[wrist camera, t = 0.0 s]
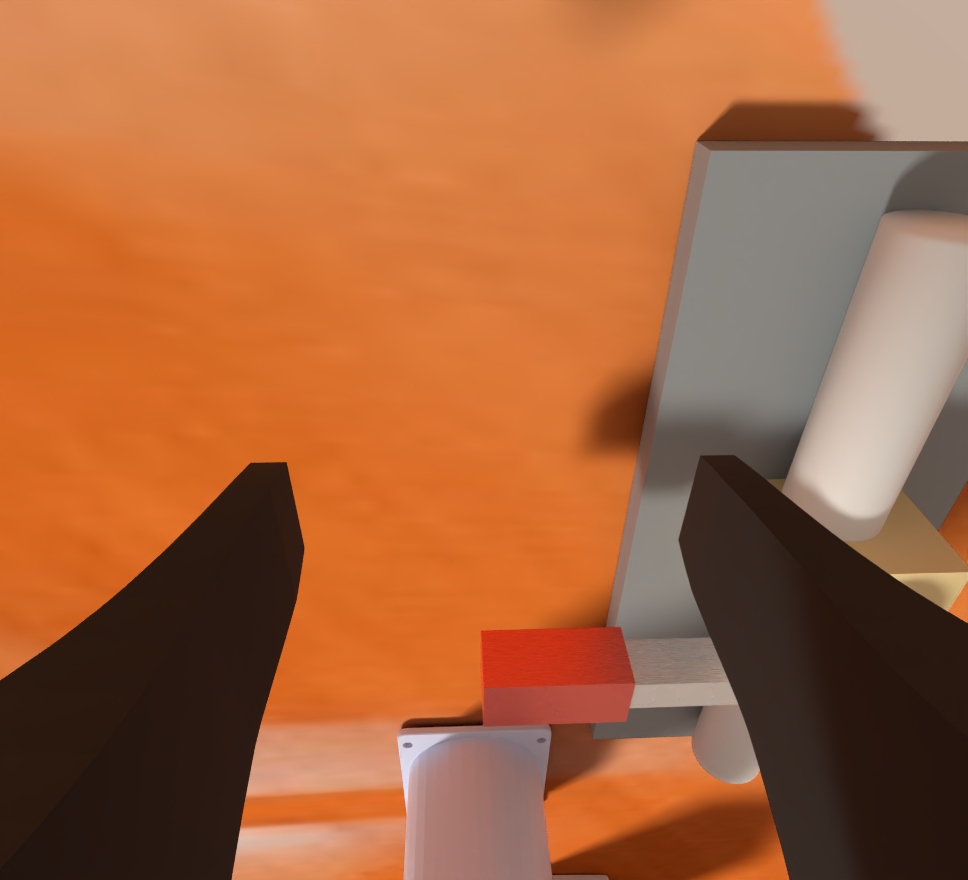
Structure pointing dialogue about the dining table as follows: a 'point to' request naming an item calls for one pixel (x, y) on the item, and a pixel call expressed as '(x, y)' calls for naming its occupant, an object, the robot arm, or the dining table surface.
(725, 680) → the valve lever
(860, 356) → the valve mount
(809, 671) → the robot arm
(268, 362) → the dining table surface
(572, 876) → the coffee box
